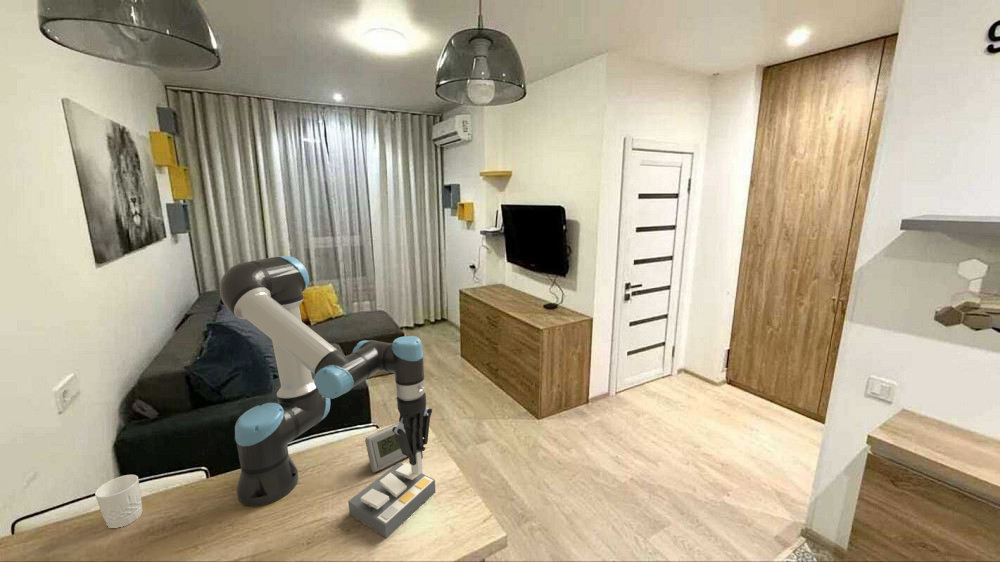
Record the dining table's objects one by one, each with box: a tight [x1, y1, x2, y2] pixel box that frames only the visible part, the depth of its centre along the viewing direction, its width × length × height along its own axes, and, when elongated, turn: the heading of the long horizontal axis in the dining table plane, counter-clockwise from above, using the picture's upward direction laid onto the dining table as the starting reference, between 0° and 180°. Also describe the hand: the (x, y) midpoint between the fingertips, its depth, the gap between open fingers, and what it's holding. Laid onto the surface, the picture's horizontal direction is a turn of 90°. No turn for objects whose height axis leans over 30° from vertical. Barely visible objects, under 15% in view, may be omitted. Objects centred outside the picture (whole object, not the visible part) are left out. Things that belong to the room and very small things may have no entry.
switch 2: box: [379, 472, 407, 497], centre depth 105 cm, size 6×4×2 cm, turn 58°
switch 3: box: [396, 462, 418, 480], centre depth 110 cm, size 6×4×2 cm, turn 58°
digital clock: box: [364, 421, 409, 473], centre depth 123 cm, size 16×9×11 cm, turn 122°
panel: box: [347, 461, 436, 539], centre depth 105 cm, size 14×18×5 cm
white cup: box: [94, 474, 144, 529], centre depth 99 cm, size 8×8×10 cm
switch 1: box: [361, 489, 389, 509], centre depth 100 cm, size 6×4×2 cm, turn 58°
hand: (417, 472), depth 108 cm, fingers closed
